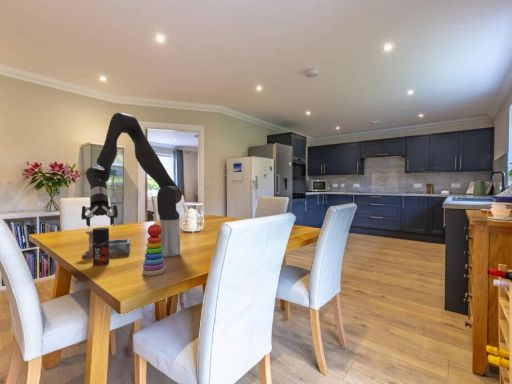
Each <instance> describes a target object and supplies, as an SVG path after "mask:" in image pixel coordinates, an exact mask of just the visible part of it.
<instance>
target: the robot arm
mask: <svg viewBox="0 0 512 384" xmlns="http://www.w3.org/2000/svg"><path fill="white" fill-rule="evenodd" d="M121 134H127V135H128V136H129V137H130V139H131V140H132V142H133V144H134V155H135V159H136V161H137V162H138V164H139V166H140V167H141V169H142V170H143V171H144V172H145V173H146V174H147V175H148V176H149V177H150V178H151V179H152V180H153V181H154V182H156V184H157V185H158V187H159V190H157V194H156V195H157V196H156V202H157V203H156V205H157V206H156V207H157V214H158V216H159V223H158V225H159V226H160V227H161V229H162V232H161V234H160V235H159V236H160V237H161V241H160V242H161V243H162V246H161V247H162V249H163V250H162V253H163V256H162V257H163V258H165V257H166V258H167V257H168V258H169V257H176V256H180V255H181V234H180V213H179V212H178V210H177V204H179V203H180V202H181V200H182V197H183V195H182V190H180V188H179V186H178V185H177V184H176V183H175V181H174V179H172V177H171V176H170V174H169V173H168V171H167V169H166V167H165V166H164V164H163V163H162V161H161V159H160V157H159V156H158V154H157V153H156V151H155V150H154V149H153V147H152V145H151V143H150V142H149V140H148V139H147V137H146V135H145V134H144V132H143V128H141V125H140V123H139V121H138V119H137V118H136V117H135V116H133V115H132V114H127V113H123V112H116V113H114V114H113V115H112V117H111V119H110V120H109V125H108V127H107V132H106V136H105V141H104V143H103V147H102V148H101V151H100V152H99V155H98V157H97V159H96V164H97V166H99V167H97V166H90V167H88V168H87V170H86V172H85V177H86V180H87V181H88V184H89V187H90V193H89V203H90V204H89V205H90V206H87V207H86V206H85V205H83V206H81V220H86V222H85V223H86V226H88V227H89V228H91V219H92V218H94V217H95V216H96V217H97V216H102V217H103V216H106V217H107V218H109V224H110V225H109V226H113V224H114V223H115V219H118V218H119V217H118V215H119V212H118V207H117V204H115V205H113V206H110V204H109V193H108V192H109V191H108V185H107V182H109V180H110V177H111V169H112V166H113V164H114V162H115V160H116V158H117V155H118V140H119V138H120V136H121ZM100 167H101V168H100ZM88 211H89V212H88ZM111 211H112V212H111ZM86 213H88V214H86Z"/></svg>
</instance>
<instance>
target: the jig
mask: <svg viewBox="0 0 512 384" xmlns="http://www.w3.org/2000/svg"><path fill="white" fill-rule="evenodd" d="M85 235H88V249H85V251H84V253H83V254H82V255H81V258H82V259H81V260H84V259H93V229H90V230H85ZM130 251H131V238H123V239H109V257H116V256H118V257H119V256H128V255H130Z"/></svg>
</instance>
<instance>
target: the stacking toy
mask: <svg viewBox="0 0 512 384" xmlns="http://www.w3.org/2000/svg"><path fill="white" fill-rule="evenodd" d="M161 232H162V229H161V227H160V226H159V224H156V223H154V224H150V225H149V226H148V228H147V235H148V236H149V237H147V243H146V249H145V253H144V259H143V265H142V270H141V272H142V275H144V276H148V277H149V276H150V277H153V276H159V275H162V274H164V273H165V267H164V266H165V263H164V260H165V259H164V257H163V253H162V250H163V249H162V247H161V246H162V243H161V242H160V241H161V237H160V236H159V235H160V234H161Z"/></svg>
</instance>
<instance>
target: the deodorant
mask: <svg viewBox="0 0 512 384" xmlns="http://www.w3.org/2000/svg"><path fill="white" fill-rule="evenodd" d="M92 230H93V258H92V266H93V267H103V266H108V265H109V264H110V256H109V240H110V228H109V227H96V228H93V229H92Z"/></svg>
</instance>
